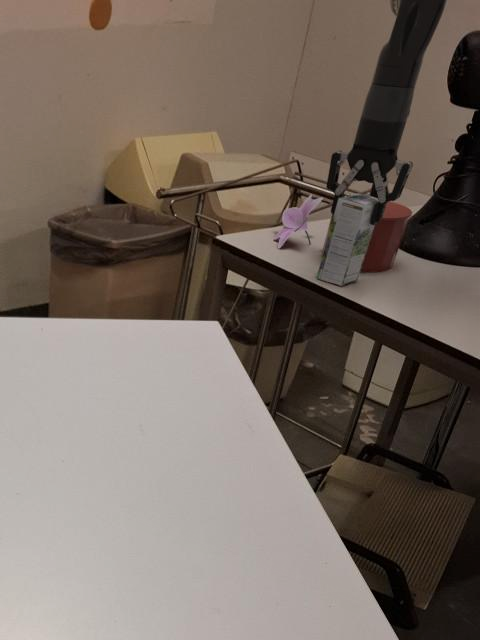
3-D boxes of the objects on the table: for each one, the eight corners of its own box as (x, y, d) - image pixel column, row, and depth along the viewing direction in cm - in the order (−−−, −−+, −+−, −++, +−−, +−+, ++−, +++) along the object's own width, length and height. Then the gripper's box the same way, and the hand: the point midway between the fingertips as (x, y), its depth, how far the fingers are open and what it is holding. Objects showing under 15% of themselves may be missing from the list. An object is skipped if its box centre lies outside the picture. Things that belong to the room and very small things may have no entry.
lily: (281, 237, 185) (270, 197, 178) (336, 223, 178) (328, 181, 171) (270, 270, 179) (259, 229, 173) (327, 257, 172) (318, 214, 166)
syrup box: (332, 273, 164) (354, 191, 154) (359, 281, 160) (383, 198, 151) (315, 278, 161) (337, 196, 151) (342, 287, 157) (365, 203, 148)
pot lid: (419, 212, 166) (429, 181, 162) (397, 228, 156) (408, 196, 153) (345, 199, 172) (353, 169, 168) (320, 214, 163) (328, 182, 159)
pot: (404, 256, 173) (420, 207, 167) (376, 280, 161) (393, 227, 155) (338, 243, 179) (352, 195, 173) (306, 265, 167) (320, 213, 161)
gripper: (336, 112, 143) (309, 217, 154) (421, 124, 137) (387, 232, 148) (350, 107, 148) (323, 209, 159) (433, 118, 142) (399, 223, 153)
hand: (354, 220), depth 153 cm, fingers closed on syrup box, 6 cm apart
